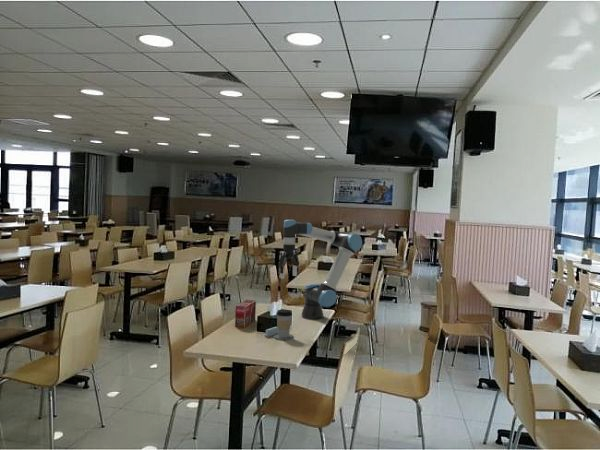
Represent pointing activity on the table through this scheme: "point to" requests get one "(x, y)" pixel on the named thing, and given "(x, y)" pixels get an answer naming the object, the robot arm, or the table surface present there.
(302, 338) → the table surface
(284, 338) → the coaster
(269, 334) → the grey bar handle
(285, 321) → the coffee cup
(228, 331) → the table surface
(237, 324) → the ice cream box
